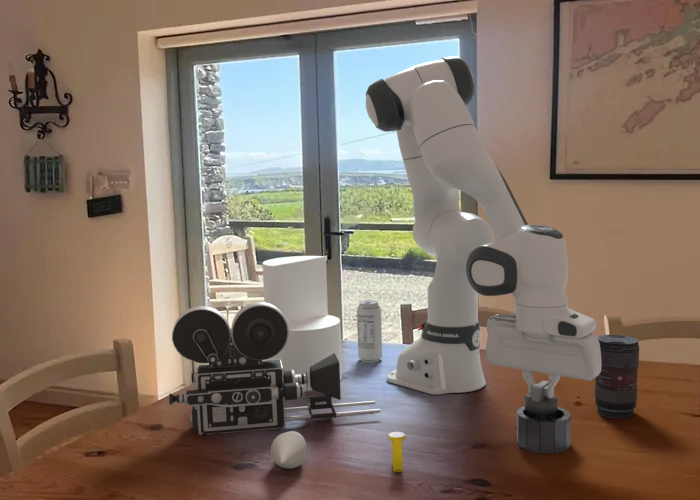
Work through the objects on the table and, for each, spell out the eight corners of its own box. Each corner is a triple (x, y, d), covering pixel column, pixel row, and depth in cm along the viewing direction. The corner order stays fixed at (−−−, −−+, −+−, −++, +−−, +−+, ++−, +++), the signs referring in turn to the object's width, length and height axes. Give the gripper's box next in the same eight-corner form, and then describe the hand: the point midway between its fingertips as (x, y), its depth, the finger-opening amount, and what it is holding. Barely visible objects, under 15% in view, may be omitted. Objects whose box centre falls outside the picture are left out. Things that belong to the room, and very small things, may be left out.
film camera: (171, 444, 137) (163, 317, 134) (176, 422, 149) (168, 305, 146) (384, 426, 143) (381, 304, 140) (372, 405, 155) (369, 293, 152)
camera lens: (641, 421, 142) (643, 344, 140) (596, 419, 143) (597, 343, 141) (634, 406, 150) (635, 333, 148) (591, 405, 151) (592, 333, 149)
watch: (407, 476, 121) (406, 441, 120) (390, 477, 121) (389, 441, 120) (404, 461, 127) (404, 427, 126) (388, 461, 127) (387, 428, 126)
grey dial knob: (519, 410, 131) (519, 386, 131) (532, 401, 136) (532, 377, 135) (549, 416, 128) (550, 391, 127) (562, 406, 132) (562, 382, 132)
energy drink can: (387, 359, 189) (385, 301, 187) (371, 365, 184) (369, 305, 182) (369, 355, 193) (367, 298, 191) (353, 360, 188) (351, 302, 187)
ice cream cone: (279, 491, 117) (291, 466, 132) (309, 465, 116) (318, 444, 131) (254, 460, 117) (269, 439, 132) (283, 435, 117) (295, 417, 132)
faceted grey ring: (509, 446, 132) (509, 415, 131) (529, 430, 139) (529, 401, 138) (558, 457, 126) (558, 425, 126) (577, 440, 134) (577, 410, 133)
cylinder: (252, 382, 173) (246, 263, 170) (304, 364, 186) (299, 254, 183) (305, 396, 162) (301, 269, 158) (357, 376, 175) (353, 258, 171)
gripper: (479, 315, 133) (479, 390, 135) (592, 329, 121) (591, 411, 123) (494, 309, 138) (495, 381, 140) (605, 321, 126) (604, 400, 128)
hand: (541, 395), depth 131 cm, fingers closed on grey dial knob
